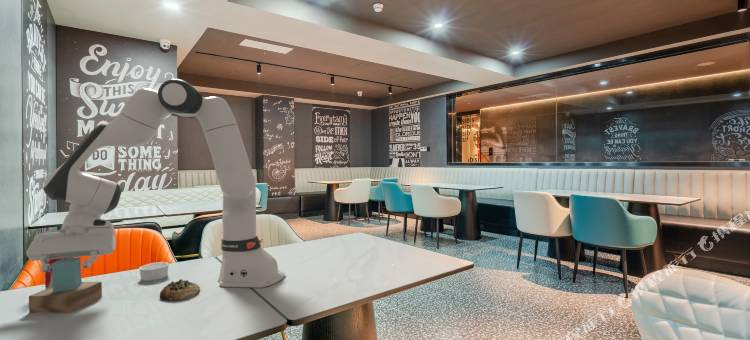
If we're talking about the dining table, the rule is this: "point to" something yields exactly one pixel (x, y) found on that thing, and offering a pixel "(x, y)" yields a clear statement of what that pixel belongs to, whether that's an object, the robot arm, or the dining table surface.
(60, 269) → the teal pillar
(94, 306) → the dining table surface
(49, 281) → the soda can
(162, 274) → the ramekin
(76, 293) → the walnut block
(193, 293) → the bread roll
